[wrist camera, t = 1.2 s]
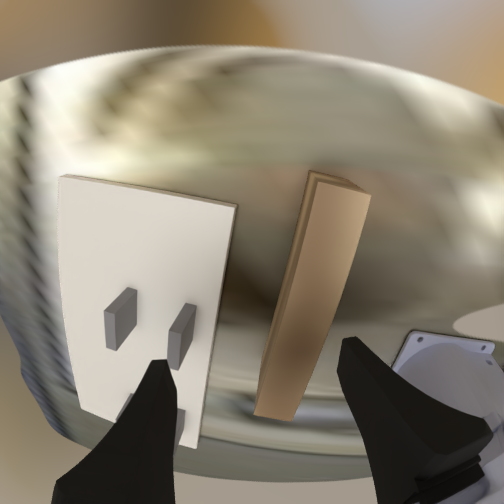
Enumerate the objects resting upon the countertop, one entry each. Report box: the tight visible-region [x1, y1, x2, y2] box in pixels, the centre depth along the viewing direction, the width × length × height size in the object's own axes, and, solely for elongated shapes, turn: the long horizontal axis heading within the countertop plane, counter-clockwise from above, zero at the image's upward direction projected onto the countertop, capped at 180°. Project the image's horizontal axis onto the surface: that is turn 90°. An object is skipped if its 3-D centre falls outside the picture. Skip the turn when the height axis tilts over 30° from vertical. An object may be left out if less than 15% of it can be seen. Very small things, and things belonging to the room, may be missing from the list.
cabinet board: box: [57, 175, 237, 457], centre depth 22 cm, size 13×24×4 cm, turn 169°
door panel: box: [254, 170, 371, 421], centre depth 18 cm, size 2×14×6 cm, turn 169°
